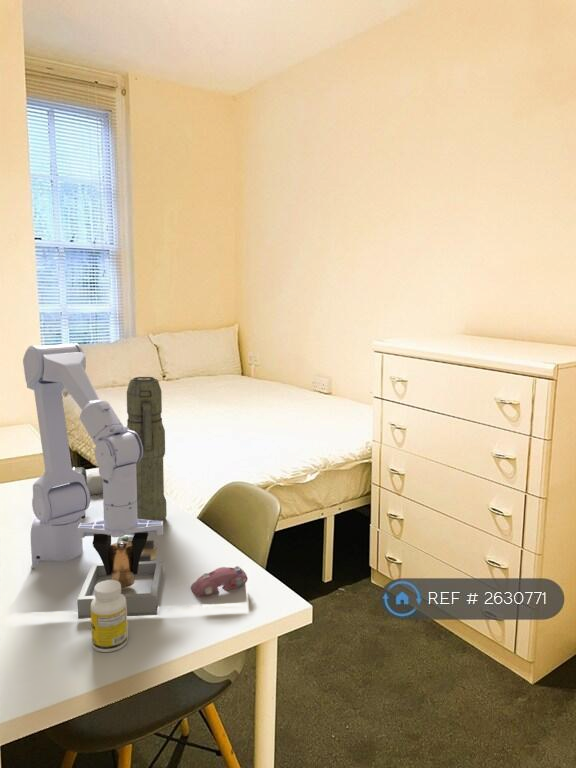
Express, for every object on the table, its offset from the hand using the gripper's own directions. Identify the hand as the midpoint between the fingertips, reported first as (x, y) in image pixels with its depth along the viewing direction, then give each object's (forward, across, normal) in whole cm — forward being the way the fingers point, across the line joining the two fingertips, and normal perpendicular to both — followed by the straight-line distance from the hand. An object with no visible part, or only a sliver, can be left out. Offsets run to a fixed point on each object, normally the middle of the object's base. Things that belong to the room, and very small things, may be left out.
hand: (122, 572), depth 107 cm
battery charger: (+5, -16, +40) cm, 43 cm away
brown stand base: (+5, +2, +14) cm, 15 cm away
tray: (+5, 0, 0) cm, 5 cm away
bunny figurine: (+5, -14, +56) cm, 58 cm away
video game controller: (+5, +17, -1) cm, 18 cm away
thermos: (+5, +1, +31) cm, 31 cm away
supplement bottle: (+5, 0, -14) cm, 15 cm away
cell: (+2, 0, 0) cm, 2 cm away
